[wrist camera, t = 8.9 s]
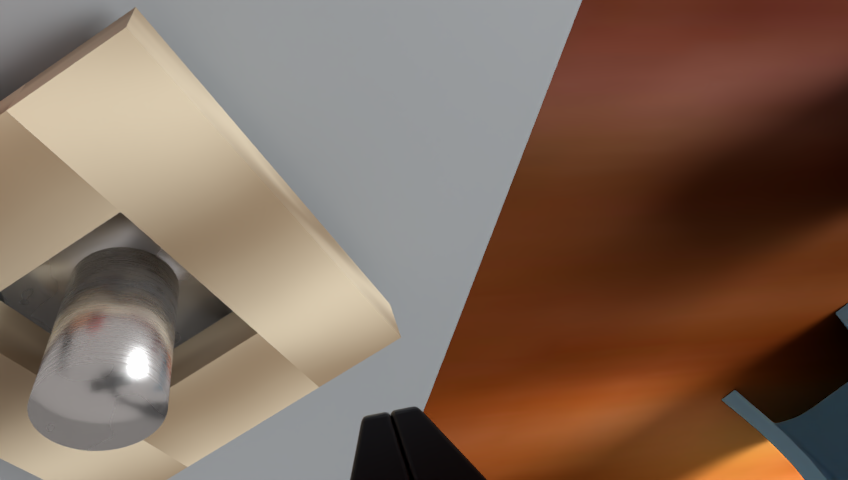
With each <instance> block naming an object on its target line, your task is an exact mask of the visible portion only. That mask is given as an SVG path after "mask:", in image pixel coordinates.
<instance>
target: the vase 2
mask: <svg viewBox="0 0 848 480" xmlns="http://www.w3.org/2000/svg"><path fill="white" fill-rule="evenodd" d="M835 314H836V315H837V316H838V318H839V319H840V320H841V322H842V323H843V324H844V326H845V327H846V328H847V330H848V304H846V305H845V306H844V307H842V308H841V309H840V310H838V311H837V312H836V313H835ZM722 401H723V402H724V403H726V404H727V405H728V406H729V407H731V408H732V409H733V410H734V411H735V412H737V413H738V414H739V415H740V416H741V417H743V418H744V419H745V420H746V421H747V422H749V423H750V424H751V425H752V426H753V427H754V428H756V429H757V430H758V431H759V432H760V433H761V434H762V435H763V436H764V437H766V438H767V439H768V440H769V441H770V442H771V443H772V444H773V445H774V446H775V447H776V448H777V449H778V450H779V451H780V452H781V453H782V454H783V455H784V456H785V457H786V458H787V459H788V460H789V461H790V462H791V464H792V465H793V466H794V467H795V468H796V469H797V470H798V472H799V473H800V474H801V475H802V477H803V478H804V479H805V480H848V382H847V383H845V384H844V385H843V386H841V387H840V388H839V389H837V390H836V391H834V392H833V393H832V394H830V395H829V396H828V397H826V398H825V399H823V400H822V401H821V402H819V403H818V404H817V405H815V406H814V407H812V408H811V409H809V410H808V411H806V412H805V413H803V414H801V415H799V416H797V417H795V418H792V419H789V420H786V421H783V422H779V423H774V422H772V421H771V420H770V419H769V418H767V417H766V416H765V415H764V414H763V413H762V412H761V411H759V410H758V409H757V408H756V407H755V406H754V405H752V404H751V403H750V402H749V401H748V400H746V399H745V398H744V397H743V396H742V395H741V394H739V393H738V392H737V391H736V390H734V391H732V392H731V393H730V394H728V395H727V396H726V397H725V398H723V399H722Z"/></svg>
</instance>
